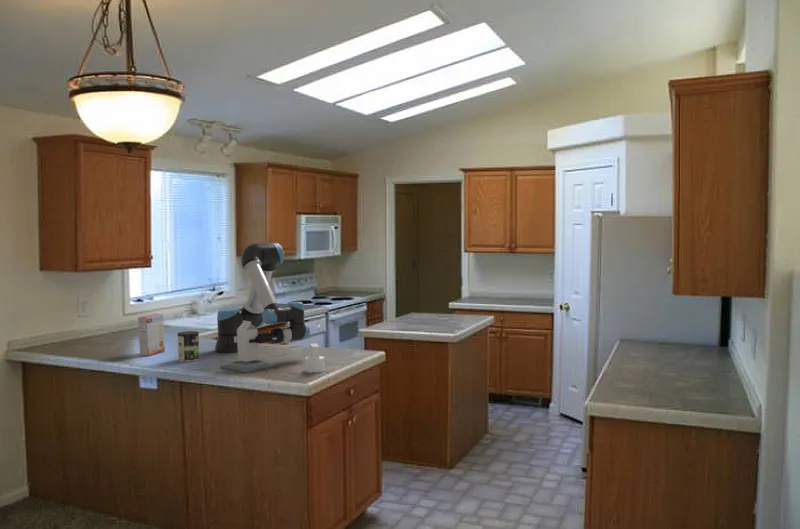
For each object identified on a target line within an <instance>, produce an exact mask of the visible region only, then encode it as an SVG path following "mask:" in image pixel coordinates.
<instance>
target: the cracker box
mask: <svg viewBox="0 0 800 529" xmlns="http://www.w3.org/2000/svg"><path fill="white" fill-rule="evenodd" d="M137 322H138V342H139V343H138V344H139V357H150V356H153V355H157V354H159V353H162V352H163V351H164V352H165V347H166V346H165V329H164V328H165V327H164V314H163V313H153V314H147V315H142V316H139V317H137Z"/></svg>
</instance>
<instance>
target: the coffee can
mask: <svg viewBox="0 0 800 529" xmlns="http://www.w3.org/2000/svg"><path fill="white" fill-rule="evenodd" d="M199 336H200V335H199V331H195V330H193V331H192V330H190V331H189V330H187V331H181V332H177V344H178V345H177V349H178V361H179V362H180V363H181V362H182V363H187V362H188V363H189V362H196V361H199V360H200V338H199Z"/></svg>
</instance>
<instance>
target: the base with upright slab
mask: <svg viewBox="0 0 800 529" xmlns="http://www.w3.org/2000/svg"><path fill="white" fill-rule="evenodd" d="M304 365H305V366H304V368H305V370H304V371H305V372H306V373H312V372H315V373H320V372H321V373H322V372H324V371H325V356H322V355H320V346H319V345H318V343H309V356H306V357H304ZM312 374H313V373H312Z"/></svg>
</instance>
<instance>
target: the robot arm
mask: <svg viewBox="0 0 800 529" xmlns="http://www.w3.org/2000/svg"><path fill="white" fill-rule="evenodd" d="M284 260H285V252H284V249H283V247H282V245H281V244H280V243H278V242H264V243H262V242H261V243H260V242H259V243H255V242H254V243H250V244H248V245H247V246H246V247H245V248H244V249H243V251H242V254H241V257H240V262H241V267H242V269H243V271H244V272H245V273H247V275H248V277H249V280H250V282H251V288H250V291H249V295H248V299H247V301H245V302H244V303H243V306H242V308H239V306H229V307H224V308H220V309H219V310H218V311H217V317H216V320H217V340H216V342H215V346H214V351H215V352H216V353H221V352H230V353H236V351H238V346H237V329H238V328H239V327H240V325H241V324H242V323H243V320H244V321H249V322H251V324H252V325H253V326H254V327H255V328H257V329H258V328H261V327H263V326H264V324H266V325H275V324H280V323H288V324H289V326H283V327H282V326H281V327H276V328H275V327H274V328H272V329H271V330H270V332H269V331H266V332H259V333H258V336H255V337H256V339H255V337H253V338H246V339H242V345H246V344H253V343H255V342H256V343H258V345H260V344H265V343H273V344H281V343H285V344H287V342H288V343H289V342H295V341H302V340H306V339H309V337H310V336H311V335H310V334H311V329H310V327H309V325H308V324H305V306H304V303H303V302H302V301H291V302H289V303H288V306H284V307H280V306H279V303H278V301H277V299H276V296H275V294H274V293H273V290H272V287H271V286H270V282H271V278H272V276H273V272H275V271H276V270H277V268H278V266H279V265H281V264H283V263H284Z"/></svg>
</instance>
